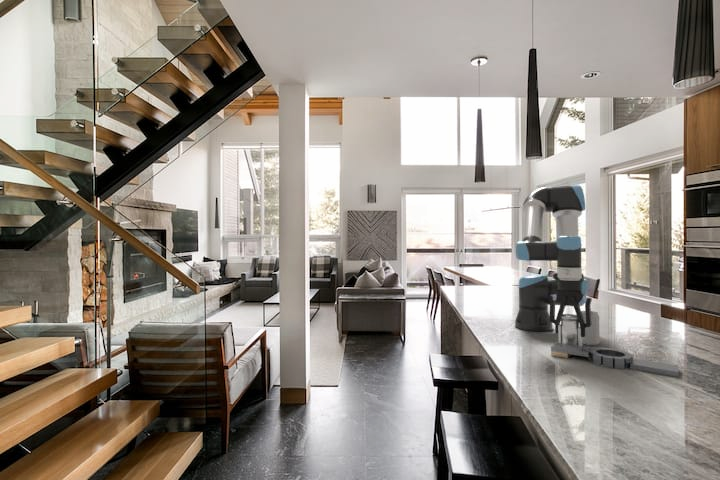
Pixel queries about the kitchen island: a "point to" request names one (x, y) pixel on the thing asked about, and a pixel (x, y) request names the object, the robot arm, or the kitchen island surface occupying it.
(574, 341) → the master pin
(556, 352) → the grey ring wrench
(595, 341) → the beverage can
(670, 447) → the kitchen island surface
